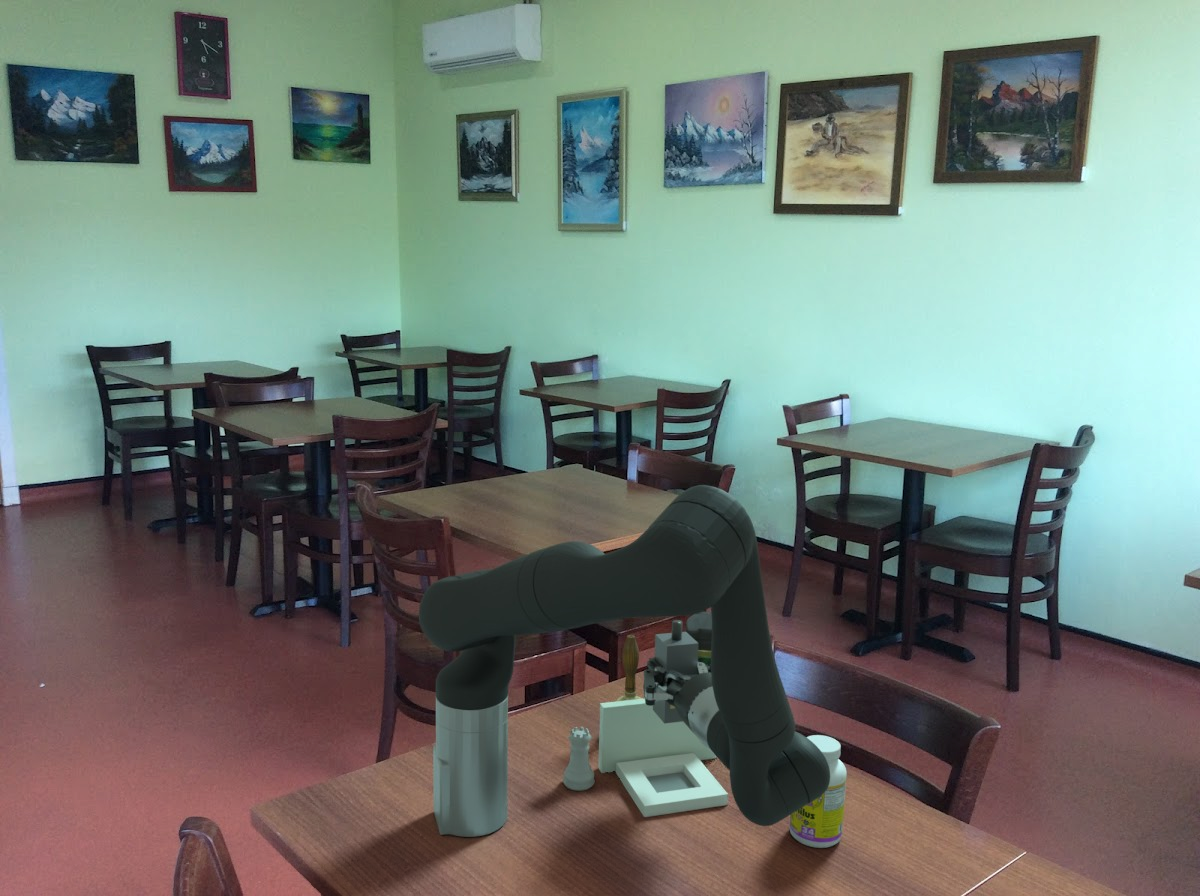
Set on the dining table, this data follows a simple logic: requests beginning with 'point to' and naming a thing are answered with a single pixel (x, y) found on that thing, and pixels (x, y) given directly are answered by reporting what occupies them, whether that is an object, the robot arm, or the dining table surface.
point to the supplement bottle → (823, 802)
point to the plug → (675, 663)
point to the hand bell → (630, 668)
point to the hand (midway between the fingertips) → (668, 662)
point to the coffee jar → (701, 634)
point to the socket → (656, 760)
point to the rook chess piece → (579, 762)
